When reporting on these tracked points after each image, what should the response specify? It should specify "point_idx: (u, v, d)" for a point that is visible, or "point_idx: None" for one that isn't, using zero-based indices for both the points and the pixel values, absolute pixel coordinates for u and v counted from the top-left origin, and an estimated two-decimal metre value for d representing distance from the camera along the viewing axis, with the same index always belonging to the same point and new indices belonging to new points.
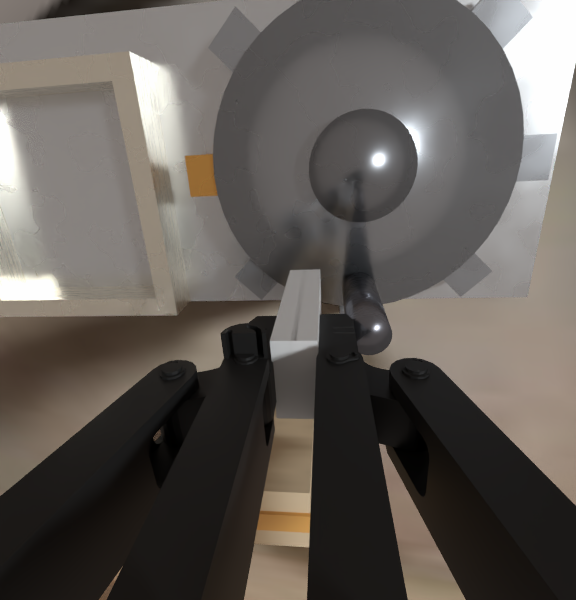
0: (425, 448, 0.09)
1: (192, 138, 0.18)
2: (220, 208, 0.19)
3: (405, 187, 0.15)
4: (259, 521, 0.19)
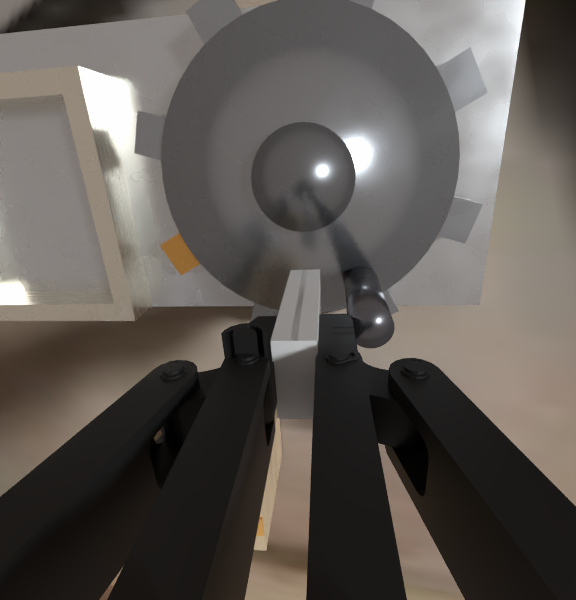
0: (424, 448, 0.09)
1: None
2: None
3: (349, 175, 0.15)
4: None
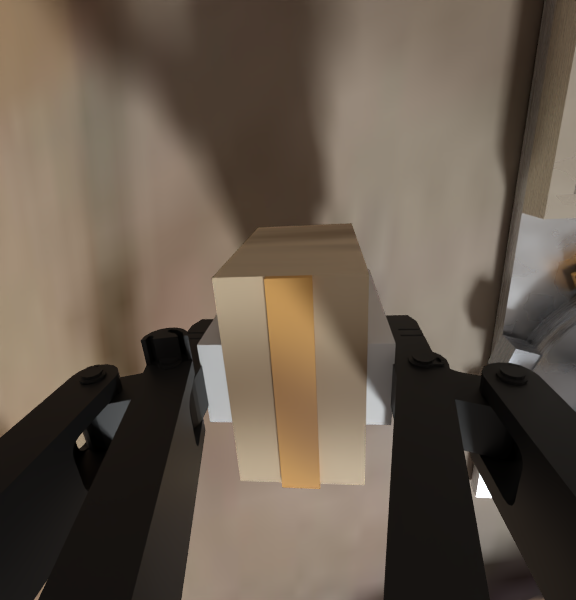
0: (515, 458, 0.08)
1: None
2: None
3: None
4: (297, 419, 0.11)
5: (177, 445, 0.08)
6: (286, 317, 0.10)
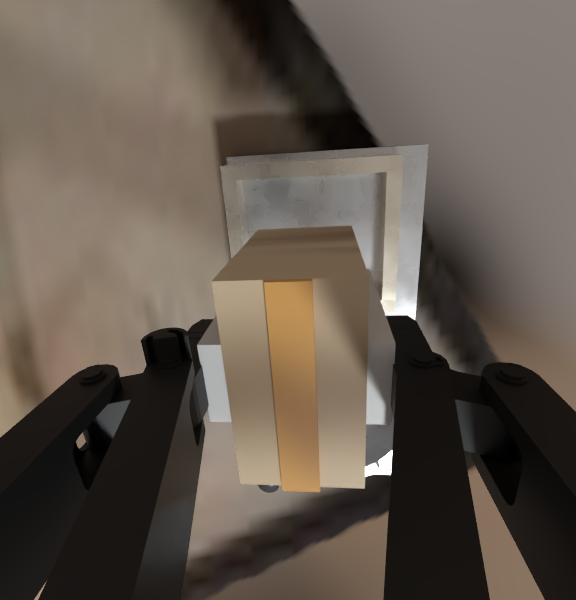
0: (515, 458, 0.08)
1: None
2: None
3: None
4: (297, 422, 0.11)
5: (177, 445, 0.08)
6: (286, 321, 0.10)
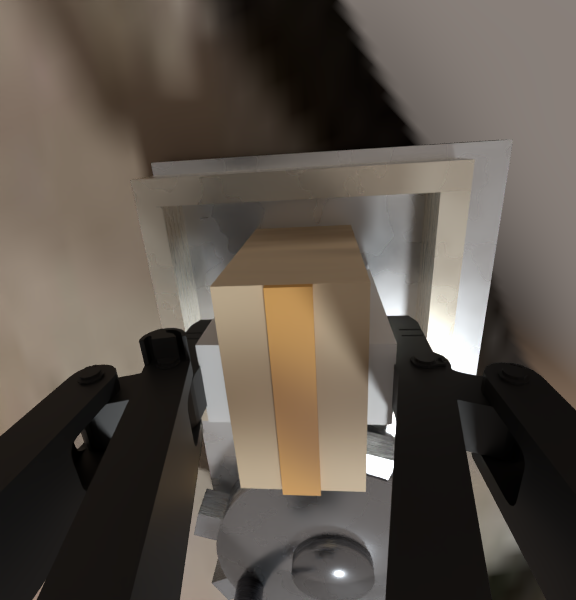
0: (517, 458, 0.08)
1: None
2: None
3: None
4: (298, 427, 0.11)
5: (175, 445, 0.08)
6: (286, 326, 0.09)
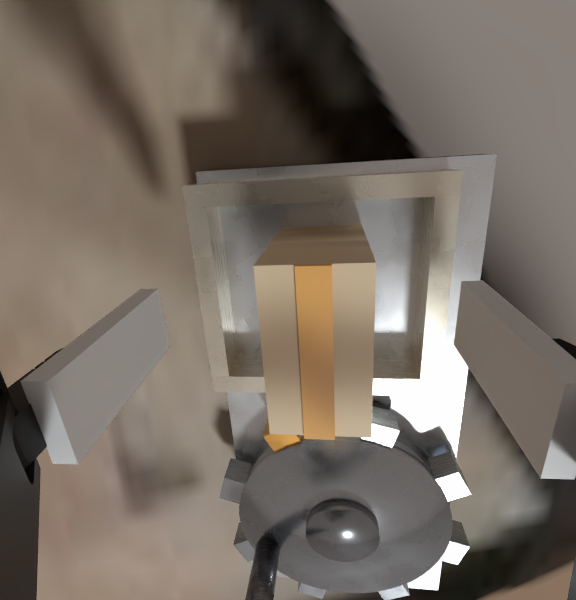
0: None
1: None
2: None
3: (344, 559, 0.23)
4: (318, 380, 0.13)
5: (3, 483, 0.07)
6: (311, 297, 0.12)
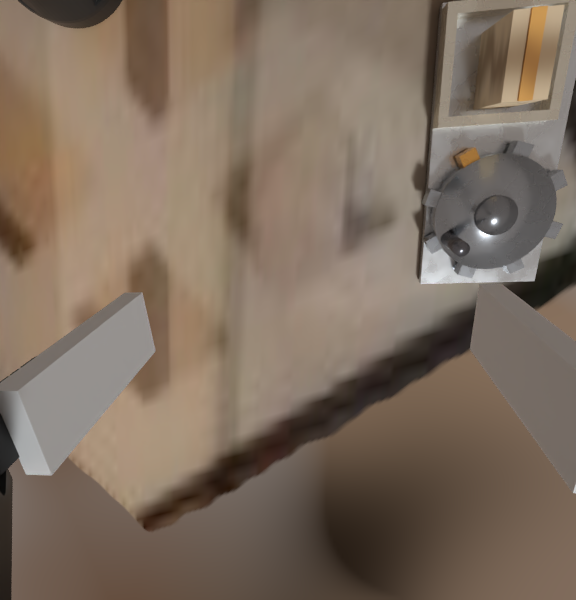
0: None
1: (512, 137, 0.41)
2: (478, 149, 0.42)
3: (495, 233, 0.42)
4: (531, 66, 0.32)
5: None
6: (536, 21, 0.31)
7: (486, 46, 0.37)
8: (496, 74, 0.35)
